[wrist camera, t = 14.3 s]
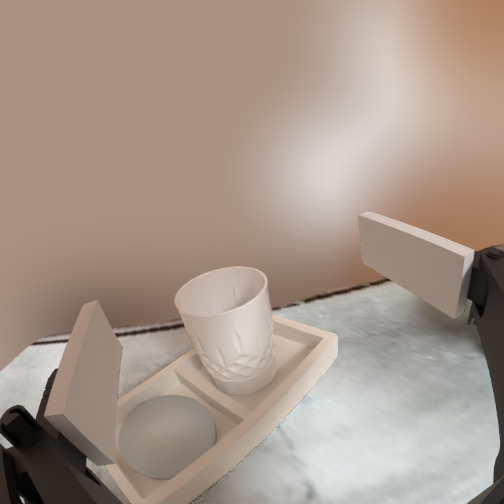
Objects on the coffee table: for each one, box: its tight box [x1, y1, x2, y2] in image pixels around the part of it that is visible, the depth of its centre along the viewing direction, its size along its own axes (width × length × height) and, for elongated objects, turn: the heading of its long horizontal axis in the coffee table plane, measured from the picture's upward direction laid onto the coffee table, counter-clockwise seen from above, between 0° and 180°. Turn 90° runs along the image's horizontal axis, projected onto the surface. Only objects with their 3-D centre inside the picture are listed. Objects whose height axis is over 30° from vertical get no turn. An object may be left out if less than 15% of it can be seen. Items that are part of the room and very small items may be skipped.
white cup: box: [174, 266, 278, 395], centre depth 25 cm, size 8×8×10 cm
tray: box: [105, 314, 338, 504], centre depth 24 cm, size 24×12×3 cm, turn 137°
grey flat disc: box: [118, 395, 217, 480], centre depth 20 cm, size 9×9×1 cm
